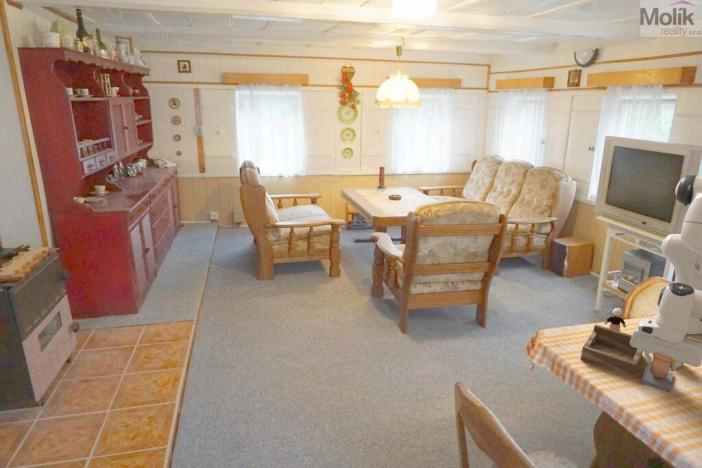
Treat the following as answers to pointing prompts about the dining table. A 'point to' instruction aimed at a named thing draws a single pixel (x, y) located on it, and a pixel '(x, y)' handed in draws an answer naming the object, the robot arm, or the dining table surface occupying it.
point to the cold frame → (616, 342)
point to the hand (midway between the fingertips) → (660, 366)
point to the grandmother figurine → (616, 320)
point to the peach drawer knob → (660, 365)
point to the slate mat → (657, 380)
